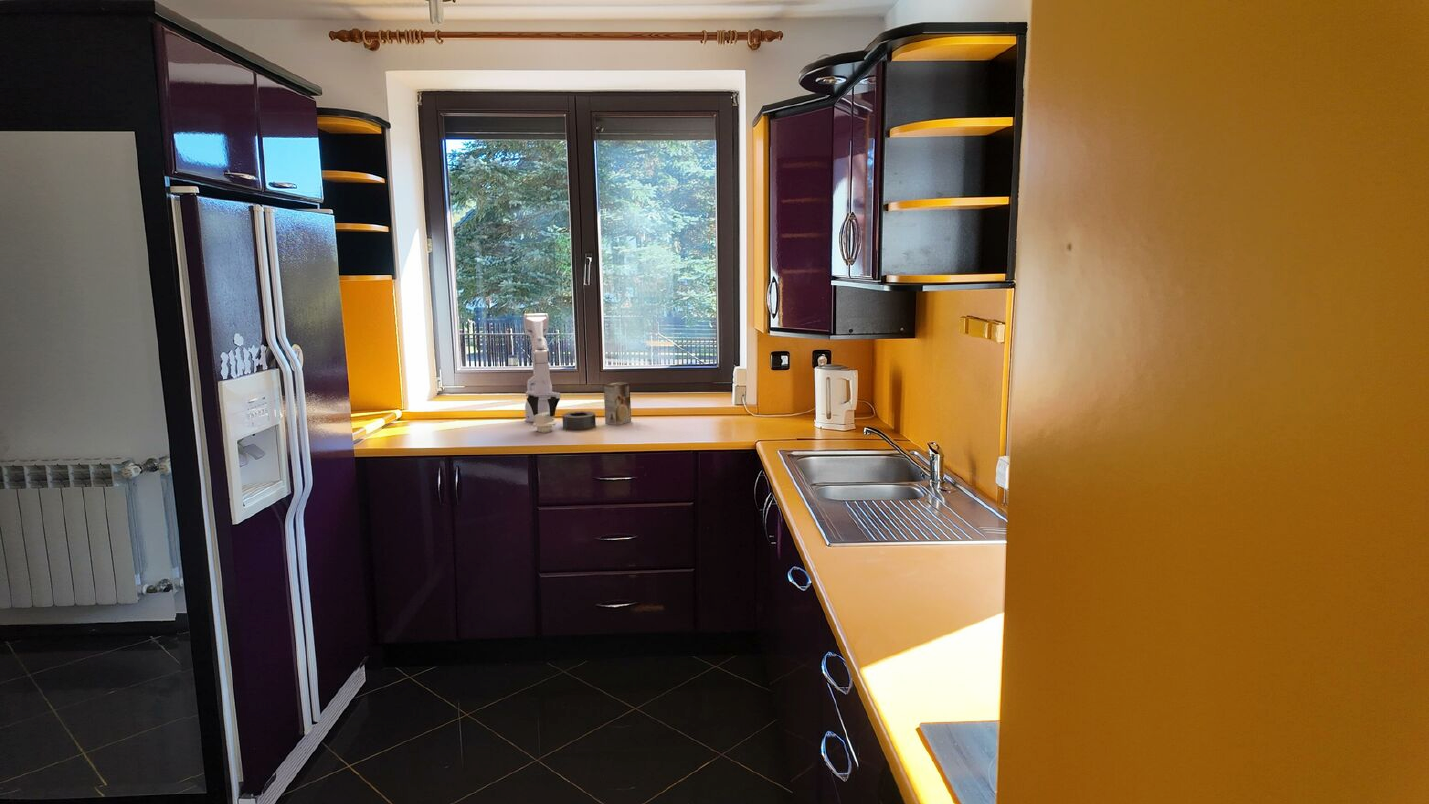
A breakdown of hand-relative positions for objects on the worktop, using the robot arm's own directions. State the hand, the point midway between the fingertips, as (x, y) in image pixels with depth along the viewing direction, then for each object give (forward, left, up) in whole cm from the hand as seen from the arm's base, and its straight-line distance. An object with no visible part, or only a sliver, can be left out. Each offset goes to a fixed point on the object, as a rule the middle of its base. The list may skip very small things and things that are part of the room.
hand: (544, 415), depth 325 cm
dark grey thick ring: (+9, +11, -6) cm, 15 cm away
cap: (0, 0, -6) cm, 6 cm away
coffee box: (+20, +23, -6) cm, 31 cm away
